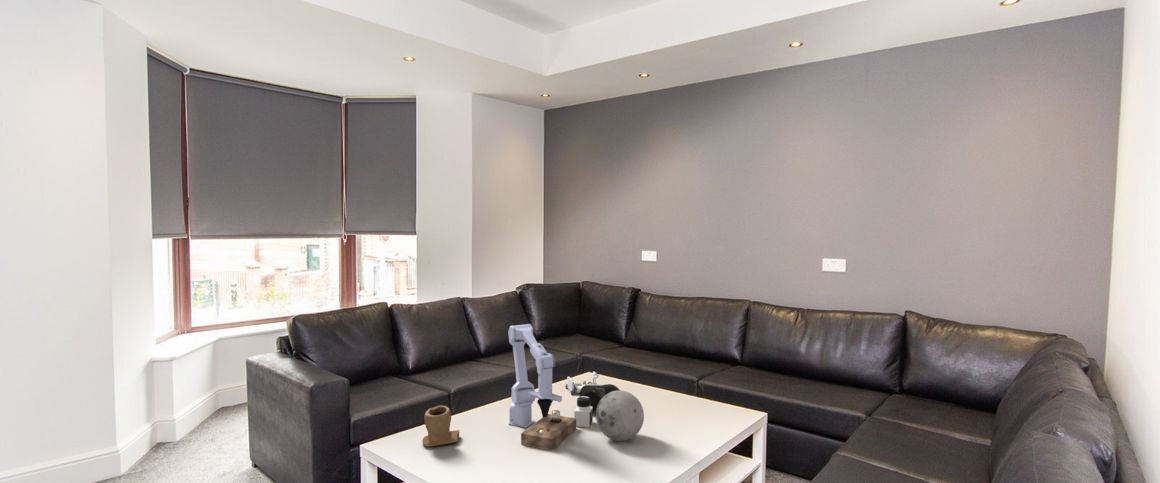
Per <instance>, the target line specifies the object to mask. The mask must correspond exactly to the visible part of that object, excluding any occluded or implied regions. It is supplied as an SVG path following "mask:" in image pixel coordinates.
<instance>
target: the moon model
mask: <svg viewBox="0 0 1160 483" xmlns="http://www.w3.org/2000/svg"><path fill="white" fill-rule="evenodd" d="M644 420H645V413H644V408H643V406H642V403H641V402H640V400H639V399H638V398H637V396H635V395H634V394H633V393H631V392H628V391H626V390H621V389H619V390H618V391H612V392H610V393H608V394H606V395H605V396H604V397H603V398H602V399H601V400H600V402H599V404H598V406H597V409H596V412H595V421H596V424H597V426H598V429H599V430H600V432H601V433H602V434H603V435H604V436H605V437H607V438H608V439H610V440H611V441H612V440H613V441H617V442H624V441H627V440H628V441H629V440H631V439H633V438H634V437H636V435H637V434H638V433H639V432H640V431H641V429H642V427H643V424H644Z"/></svg>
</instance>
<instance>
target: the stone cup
mask: <svg viewBox="0 0 1160 483" xmlns="http://www.w3.org/2000/svg"><path fill="white" fill-rule="evenodd" d="M423 417H424V425H425V428H426V431H427V435H425V436H424V437H422V440H421V441H422V444H423V445H424V446H425V447H436V446H442V445H449V444H453V443H456V442H458V441H459V438H460V433H461V432H460V429H456V430H450V428H451V421H452V412H451V409H450V408H449V407H448V406H446V405H437V406H434V407H430V408H428V410H426V411H425V413H424V415H423Z"/></svg>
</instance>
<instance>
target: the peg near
mask: <svg viewBox="0 0 1160 483" xmlns="http://www.w3.org/2000/svg"><path fill="white" fill-rule="evenodd" d="M547 432H548V430H547V429H540V430H539V433H544V434H546V433H547Z"/></svg>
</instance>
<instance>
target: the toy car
mask: <svg viewBox="0 0 1160 483" xmlns="http://www.w3.org/2000/svg"><path fill="white" fill-rule="evenodd" d="M598 373H599V371H597V372H595V371H593V373H592V382H591V381H588V382H587V381H586V380H584V381H583V382H582V383H576V382H575V380H573V378H571V377H570V376H567V377H566V378H567V379H566V380H567V381H566V382H567V383H566V384H565V390H568V391H570V395H571V396H576V395H577V394H578V393H579V394H580V391H581V388H582V387H583V386H585V385H599V384H598V382H597V383H596V382H595V380H596V379H598V378H599V377H600V375H599V374H598Z"/></svg>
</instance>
